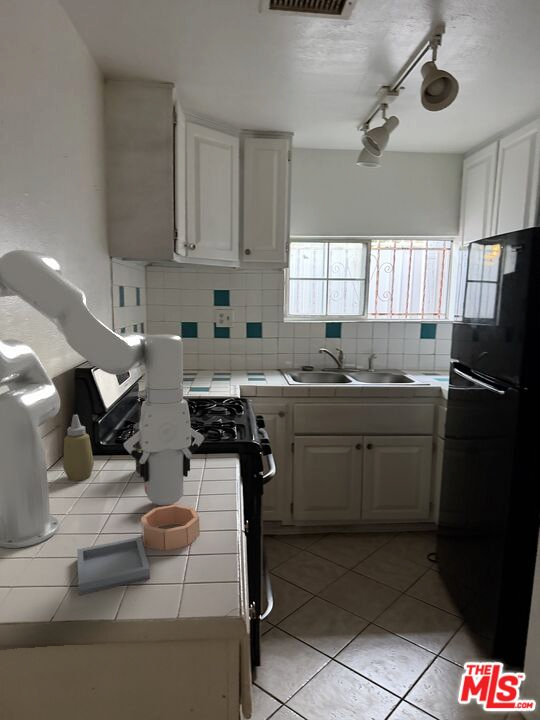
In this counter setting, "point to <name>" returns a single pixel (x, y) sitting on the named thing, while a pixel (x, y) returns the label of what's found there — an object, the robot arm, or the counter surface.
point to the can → (165, 476)
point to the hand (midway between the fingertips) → (165, 476)
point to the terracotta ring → (172, 536)
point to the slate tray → (111, 565)
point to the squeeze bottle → (77, 452)
